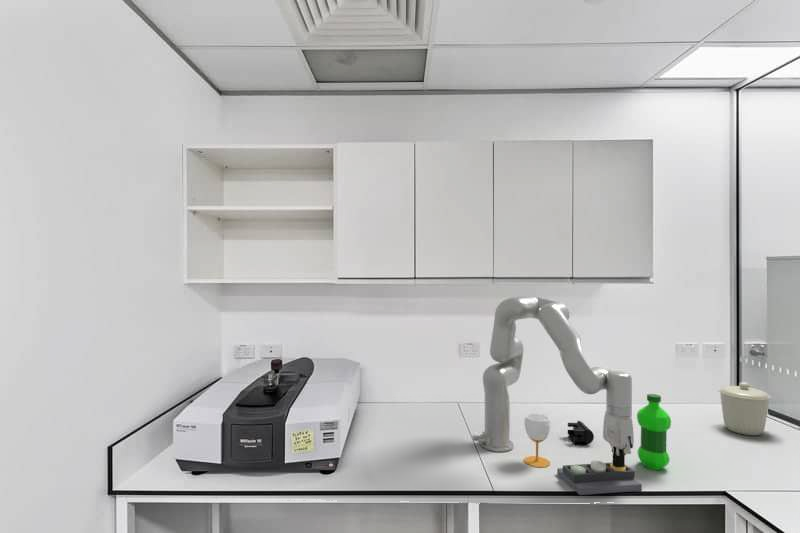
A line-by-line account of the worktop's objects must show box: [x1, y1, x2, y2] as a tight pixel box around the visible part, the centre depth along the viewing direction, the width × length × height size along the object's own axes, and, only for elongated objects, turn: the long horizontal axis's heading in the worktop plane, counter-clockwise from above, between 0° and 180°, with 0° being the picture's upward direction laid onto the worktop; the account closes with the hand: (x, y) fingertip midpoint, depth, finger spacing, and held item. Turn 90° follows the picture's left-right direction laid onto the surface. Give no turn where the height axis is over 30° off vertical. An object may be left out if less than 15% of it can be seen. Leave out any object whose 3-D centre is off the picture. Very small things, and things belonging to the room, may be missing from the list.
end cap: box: [567, 420, 595, 447], centre depth 184 cm, size 10×7×7 cm
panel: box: [556, 461, 643, 496], centre depth 149 cm, size 21×14×4 cm, turn 99°
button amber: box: [610, 462, 626, 471], centre depth 150 cm, size 5×5×2 cm
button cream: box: [590, 460, 606, 473], centre depth 149 cm, size 5×5×2 cm
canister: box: [718, 381, 772, 436], centre depth 196 cm, size 18×18×21 cm
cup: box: [523, 413, 551, 468], centre depth 164 cm, size 9×9×16 cm
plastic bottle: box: [636, 393, 672, 471], centre depth 161 cm, size 10×10×25 cm
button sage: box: [571, 464, 586, 474], centre depth 148 cm, size 5×5×2 cm
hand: (618, 466), depth 150 cm, fingers closed
